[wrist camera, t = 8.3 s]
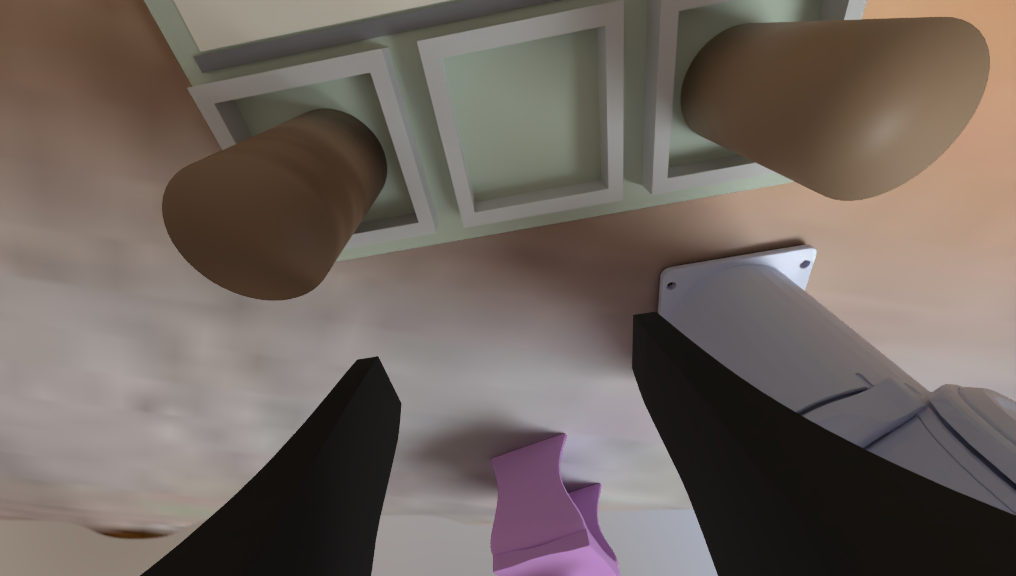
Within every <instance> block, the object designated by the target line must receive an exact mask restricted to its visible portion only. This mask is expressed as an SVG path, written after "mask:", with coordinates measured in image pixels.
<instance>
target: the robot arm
mask: <svg viewBox="0 0 1016 576" xmlns="http://www.w3.org/2000/svg"><path fill="white" fill-rule="evenodd" d="M816 254H817V250H816V248H814V247H812V246H811V245H800V246H794V247H788V248H782V249H776V250H770V251H764V252H758V253H752V254H746V255H740V256H734V257H728V258H722V259H716V260H710V261H704V262H698V263H692V264H686V265H680V266H674V267H669V268H666V269H665V270H663V272H662V273H661V276H660V288H659V303H658V313H657V312H651V313H644V314H638V315H633V353H632V369H633V372H634V375H635V378H636V381H637V384H638V387H639V390H640V392H641V395H642V398H643V401H644V403H645V405H646V407H647V409H648V412H649V414H650V416H651V418H652V420H653V422H654V424H655V426H656V428H657V430H658V432H659V434H660V436H661V438H662V440H663V443H664V445H665V447H666V449H667V451H668V453H669V455H670V457H671V459H672V461H673V463H674V465H675V467H676V469H677V471H678V473H679V475H680V477H681V480H682V482H683V484H684V486H685V489H686V491H687V493H688V496H689V498H690V501H691V504H692V506H693V509H694V511H695V514H696V517H697V519H698V522H699V525H700V527H701V530H702V532H703V535H704V538H705V540H706V544H707V546H708V549H709V552H710V555H711V557H712V560H713V562H714V566H715V568H716V571H717V574H718V576H1016V402H1015V401H1013V400H1011V399H1009V398H1008V397H1006V396H1004V395H1001V394H999V393H997V392H995V391H992V390H989V389H985V388H973V387H961V386H958V385H953V384H945V385H942V386H941V387H939V388H938V389H936V390H935V391H933V392H930V391H928V390H927V389H926V388H924V387H923V386H922V385H921V384H919V383H918V382H917V381H916V380H914V379H913V378H912V377H911V376H909V375H908V374H907V373H906V372H905V371H903V370H902V369H901V368H900V367H898V366H897V365H896V364H895V363H893V362H892V361H891V360H890V359H888V358H887V357H886V356H885V355H883V354H882V353H881V352H880V351H879V350H877V349H876V348H875V347H874V346H872V345H871V344H870V343H869V342H867V341H866V340H865V339H864V338H862V337H861V336H860V335H859V334H858V333H856V332H855V331H854V330H853V329H851V328H850V327H849V326H848V325H846V324H845V323H844V322H843V321H841V320H840V319H839V318H838V317H836V316H835V315H834V314H833V313H832V312H830V311H829V310H828V309H827V308H825V307H824V306H823V305H822V304H820V303H819V302H818V301H817V300H815V299H814V298H813V297H812V296H811V295H809V294H808V293H807V292H806V291H805V288H806V285H807V282H808V279H809V276H810V273H811V270H812V267H813V264H814V261H815V257H816ZM803 261H804V262H803ZM801 262H803V263H802V264H801ZM671 282H673V284H672V285H670V286H667V285H668V284H669V283H671ZM400 414H401V402H400V400H399V398H398V396H397V394H396V392H395V390H394V388H393V386H392V384H391V382H390V379H389V377H388V375H387V373H386V371H385V369H384V367H383V365H382V363H381V361H380V359H379V357H371V358H365V359H359V360H357V361H356V362H355V363H354V364H353V365H352V366H351V368H350V369H349V370H348V371H347V372H346V374H345V375H344V376H343V377H342V378H341V380H340V381H339V382H338V383H337V384H336V386H335V387H334V388H333V389H332V391H331V392H330V393H329V394H328V395H327V397H326V398H325V399H324V400H323V401H322V403H321V404H320V405H319V406H318V407H317V408H316V410H315V411H314V412H313V413H312V414H311V416H310V417H309V418H308V419H307V420H306V422H305V423H304V424H303V425H302V426H301V427H300V428H299V429H298V430H297V432H296V433H295V434H294V435H293V436H292V437H291V438H290V439H289V440H288V441H287V443H286V444H285V445H284V446H283V447H282V448H281V449H280V450H279V451H278V452H277V454H276V455H275V456H274V457H273V458H272V459H271V460H270V461H269V462H268V463H267V464H266V465H265V466H264V467H263V468H262V469H261V470H260V471H259V472H258V473H257V474H256V475H255V476H254V477H253V478H252V479H251V480H250V481H249V482H248V483H247V484H246V485H245V486H244V487H243V488H242V489H241V490H240V491H239V492H238V493H237V494H236V495H235V496H234V497H232V498H231V499H230V500H229V501H228V502H227V503H226V504H225V505H224V506H223V507H221V508H220V509H219V510H218V511H217V512H216V513H215V514H213V515H212V516H211V517H210V518H209V519H208V520H207V521H205V522H204V523H203V524H202V525H201V526H200V527H199V528H197V529H196V530H195V531H194V532H193V533H192V534H191V535H190V536H189V537H187V538H186V539H185V540H184V541H183V542H181V543H180V544H179V545H178V546H177V547H175V548H174V549H173V550H172V551H170V552H169V553H168V554H167V555H165V556H164V557H163V558H162V559H161V560H160V561H158V562H157V563H156V564H154V565H153V566H152V567H151V568H149V569H148V570H147V571H145V572H144V573H143V574H142V575H140V576H371V572H372V564H373V557H374V549H375V542H376V536H377V530H378V525H379V519H380V515H381V511H382V507H383V502H384V498H385V494H386V490H387V485H388V481H389V477H390V472H391V468H392V463H393V459H394V455H395V450H396V445H397V441H398V434H399V425H400Z"/></svg>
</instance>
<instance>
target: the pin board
mask: <svg viewBox="0 0 1016 576" xmlns="http://www.w3.org/2000/svg"><path fill="white" fill-rule="evenodd" d="M144 2H145V3H146V5H147V7H148V9H149V10H150V12H151V14H152V16H153V18H154V19H155V21H156V23H157V25H158V27H159V28H160V30H161V32H162V34H163V35H164V37H165V39H166V41H167V43H168V44H169V46H170V48H171V50H172V51H173V53H174V55H175V57H176V59H177V60H178V62H179V64H180V66H181V67H182V69H183V71H184V73H185V75H186V76H187V78H188V80H189V82H190V84H191V85H192V87H188V88H187V89H188V91H189V93H190V94H191V96H192V98H193V100H194V101H195V103H196V105H197V107H198V108H199V110H200V112H201V114H202V115H203V117H204V119H205V121H206V122H207V124H208V126H209V128H210V130H211V131H212V133H213V135H214V137H215V138H216V140H217V142H218V144H219V145H220V147H221V149H222V150H224V149H226V148H228V147H231V146H233V145H235V144H237V143H240V142H242V141H244V140H246V139H248V138H251V137H253V136H255V135H257V134H260V133H262V132H264V131H266V130H268V129H271V128H273V127H275V126H277V125H280V124H282V123H284V122H286V121H288V120H291V119H293V118H295V117H297V116H300V115H302V114H304V113H306V112H308V111H312V110H315V109H335V110H339V111H342V112H345V113H348V114H350V115H352V116H354V117H355V118H357V119H358V120H360V121H361V122H363V123H364V124H365V125H366V126H367V127H368V128H369V129H370V130H371V131H372V132H373V133H374V134H375V136H376V137H377V139H378V140H379V142H380V144H381V145H382V148H383V150H384V153H385V156H386V160H387V178H386V182H385V185H384V187H383V189H382V190H381V192H380V194H379V195H378V197H377V198H376V200H375V201H374V203H373V204H372V206H371V207H370V209H369V210H368V212H367V214H366V215H365V217H364V218H363V220H362V221H361V223H360V224H359V226H358V227H357V229H356V230H355V232H354V234H353V235H352V237H351V238H350V240H349V241H348V243H347V244H346V246H345V247H344V249H343V250H342V252H341V253H340V255H339V257H338V258H337V260H336V261H335V262H338V261H344V260H350V259H355V258H361V257H367V256H373V255H378V254H384V253H390V252H396V251H401V250H407V249H413V248H418V247H424V246H430V245H436V244H441V243H447V242H453V241H459V240H464V239H470V238H476V237H481V236H487V235H493V234H499V233H504V232H510V231H516V230H522V229H527V228H533V227H539V226H544V225H550V224H556V223H562V222H567V221H573V220H579V219H585V218H590V217H596V216H602V215H607V214H613V213H619V212H625V211H630V210H636V209H642V208H648V207H653V206H659V205H665V204H670V203H676V202H682V201H688V200H693V199H699V198H705V197H711V196H716V195H722V194H728V193H733V192H739V191H745V190H751V189H756V188H762V187H768V186H774V185H779V184H785V183H791V182H797V183H799V184H801V185H803V186H805V187H807V188H809V189H811V190H813V191H815V192H817V193H819V194H822V195H824V196H826V197H829V198H832V199H836V200H842V201H853V200H862V199H866V198H871V197H874V196H877V195H880V194H883V193H885V192H888V191H890V190H892V189H894V188H896V187H898V186H900V185H902V184H904V183H906V182H907V181H909V180H910V179H912V178H913V177H915V176H917V175H918V174H919V173H921V172H922V171H923V170H925V169H926V168H927V167H928V166H930V165H931V164H932V163H933V162H934V161H936V160H937V159H938V158H939V157H940V156H941V155H942V154H943V153H944V152H945V151H946V150H947V149H948V148H949V147H950V146H951V144H952V143H953V142H954V141H955V140H956V139H957V137H958V136H959V135H960V134H961V132H962V131H963V130H964V128H965V127H966V125H967V124H968V122H969V121H970V119H971V118H972V116H973V114H974V112H975V111H976V109H977V107H978V105H979V103H980V100H981V98H982V96H983V93H984V90H985V87H986V84H987V80H988V75H989V69H990V56H989V50H988V46H987V43H986V41H985V38H984V37H983V35H982V34H981V32H980V31H979V30H978V29H977V28H976V27H974V26H973V25H972V24H970V23H968V22H966V21H964V20H961V19H957V18H953V17H924V18H893V19H862V16H863V12H864V9H865V6H866V2H867V0H144ZM861 19H862V20H861Z"/></svg>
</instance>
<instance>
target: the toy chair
mask: <svg viewBox="0 0 1016 576" xmlns="http://www.w3.org/2000/svg"><path fill="white" fill-rule="evenodd" d="M566 438H567V435H566V434H565V433H564V434H561V435H558V436H555V437H552V438H549V439H546V440H543V441H540V442H538V443H535V444H532V445H529V446H526V447H523V448H520V449H517V450H514V451H512V452H509V453H506V454H503V455H500V456H497V457H494V458H492V459H490V461H491V464H492V466H493V469H494V472H495V475H496V480H497V486H498V501H497V508H496V514H495V519H494V524H493V529H492V534H491V551H492V554H493V572H494V573H495V574H497V575H498V576H621V575H620V572H619V567H618V561H617V558H616V556H615V554H614V552H613V550H612V549H611V547H610V546H609V545H608V543H607V542H606V540H605V538H604V536H603V534H602V532H601V529H600V526H599V523H598V504H599V497H600V492H601V487H602V486H601V484H600V483H599V484H595V485H592V486H589V487H586V488H582V489H579V490H576V491H573V492H570V493H567V491H566V489H565V487H564V485H563V482H562V479H561V475H560V461H561V455H562V451H563V447H564V444H565V441H566Z"/></svg>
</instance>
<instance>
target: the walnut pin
mask: <svg viewBox="0 0 1016 576" xmlns="http://www.w3.org/2000/svg"><path fill="white" fill-rule="evenodd" d="M386 178H387V160H386V156H385V153H384V150H383V148H382V145H381V144H380V142H379V140H378V139H377V137H376V136H375V134H374V133H373V132H372V131H371V130H370V129H369V128H368V127H367V126H366V125H365V124H364V123H363V122H361V121H360V120H358V119H357V118H355V117H354V116H352V115H350V114H348V113H345V112H342V111H339V110H335V109H315V110H312V111H308V112H306V113H304V114H302V115H300V116H297V117H295V118H293V119H291V120H288V121H286V122H284V123H282V124H280V125H277V126H275V127H273V128H271V129H268V130H266V131H264V132H262V133H260V134H257V135H255V136H253V137H251V138H248V139H246V140H244V141H242V142H240V143H237V144H235V145H233V146H231V147H228V148H226V149H224V150H222V151H219V152H217V153H215V154H213V155H211V156H208V157H206V158H204V159H202V160H199V161H197V162H195V163H193V164H191V165H189V166H187V167H185V168H183V169H182V170H180V171H179V172H178V173H176V174H175V176H174V177H173V178H172V179H171V180H170V182H169V184H168V185H167V187H166V189H165V192H164V196H163V202H162V212H163V219H164V223H165V226H166V229H167V232H168V234H169V236H170V238H171V240H172V242H173V244H174V245H175V247H176V248H177V249H178V251H179V252H180V253H181V255H182V256H183V257H184V258H185V259H186V261H187V262H188V263H190V264H191V265H192V266H193V267H194V268H195V269H196V270H197V271H198V272H200V273H201V274H202V275H203V276H205V277H206V278H208V279H209V280H211V281H212V282H214V283H216V284H217V285H219V286H221V287H223V288H225V289H227V290H229V291H232V292H234V293H237V294H240V295H243V296H247V297H250V298H255V299H261V300H287V299H292V298H296V297H299V296H302V295H304V294H306V293H308V292H310V291H312V290H313V289H314V288H316V287H317V286H318V285H319V284H320V283H321V282H322V281H323V280H324V278H325V277H326V275H327V273H328V272H329V270H330V269H331V267H332V266H333V264H334V263H335V261H336V260H337V258H338V257H339V255H340V253H341V252H342V250H343V249H344V247H345V246H346V244H347V243H348V241H349V240H350V238H351V237H352V235H353V234H354V232H355V230H356V229H357V227H358V226H359V224H360V223H361V221H362V220H363V218H364V217H365V215H366V214H367V212H368V210H369V209H370V207H371V206H372V204H373V203H374V201H375V200H376V198H377V197H378V195H379V194H380V192H381V190H382V189H383V187H384V185H385V182H386Z"/></svg>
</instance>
